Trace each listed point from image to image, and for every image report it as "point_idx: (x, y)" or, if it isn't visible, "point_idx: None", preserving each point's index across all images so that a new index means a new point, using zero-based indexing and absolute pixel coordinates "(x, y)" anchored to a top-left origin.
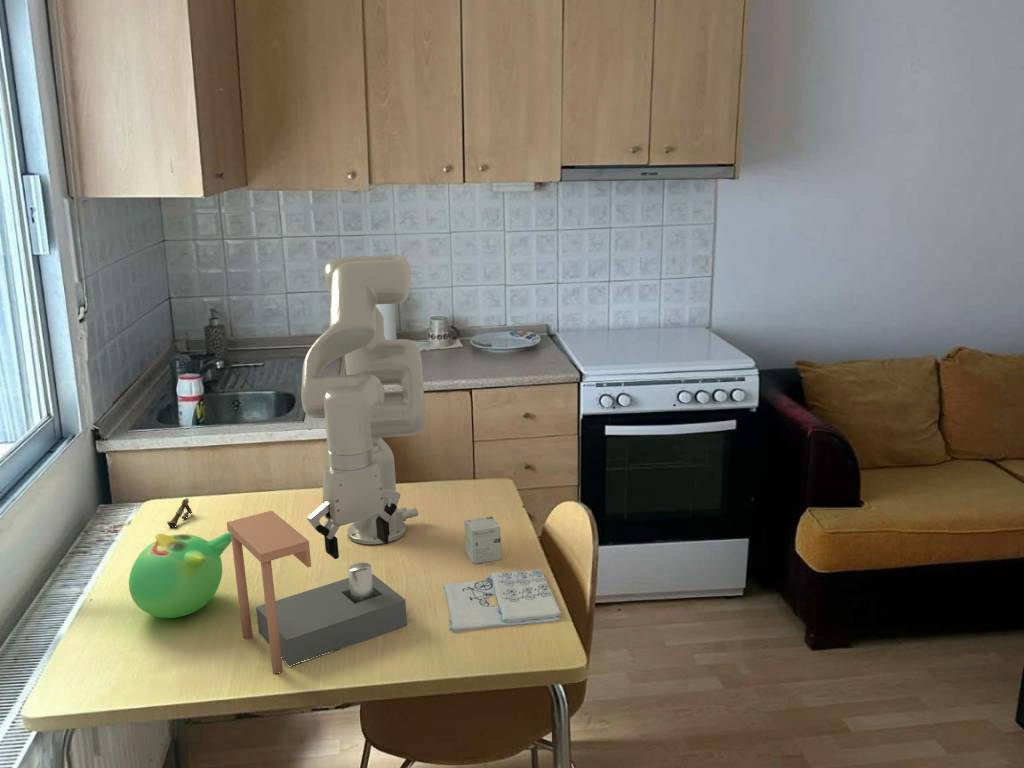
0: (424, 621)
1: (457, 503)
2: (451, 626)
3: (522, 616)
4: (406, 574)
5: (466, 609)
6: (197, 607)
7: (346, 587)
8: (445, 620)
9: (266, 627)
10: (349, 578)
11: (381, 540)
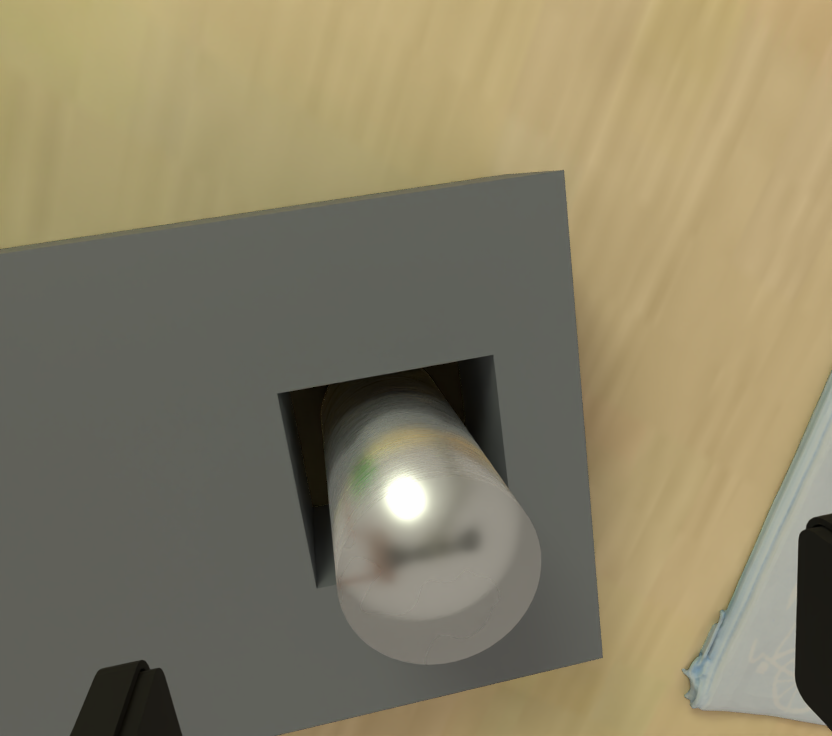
0: (627, 567)
1: None
2: (700, 677)
3: None
4: (784, 13)
5: None
6: None
7: (331, 343)
8: (706, 596)
9: None
10: (332, 534)
11: (800, 624)
